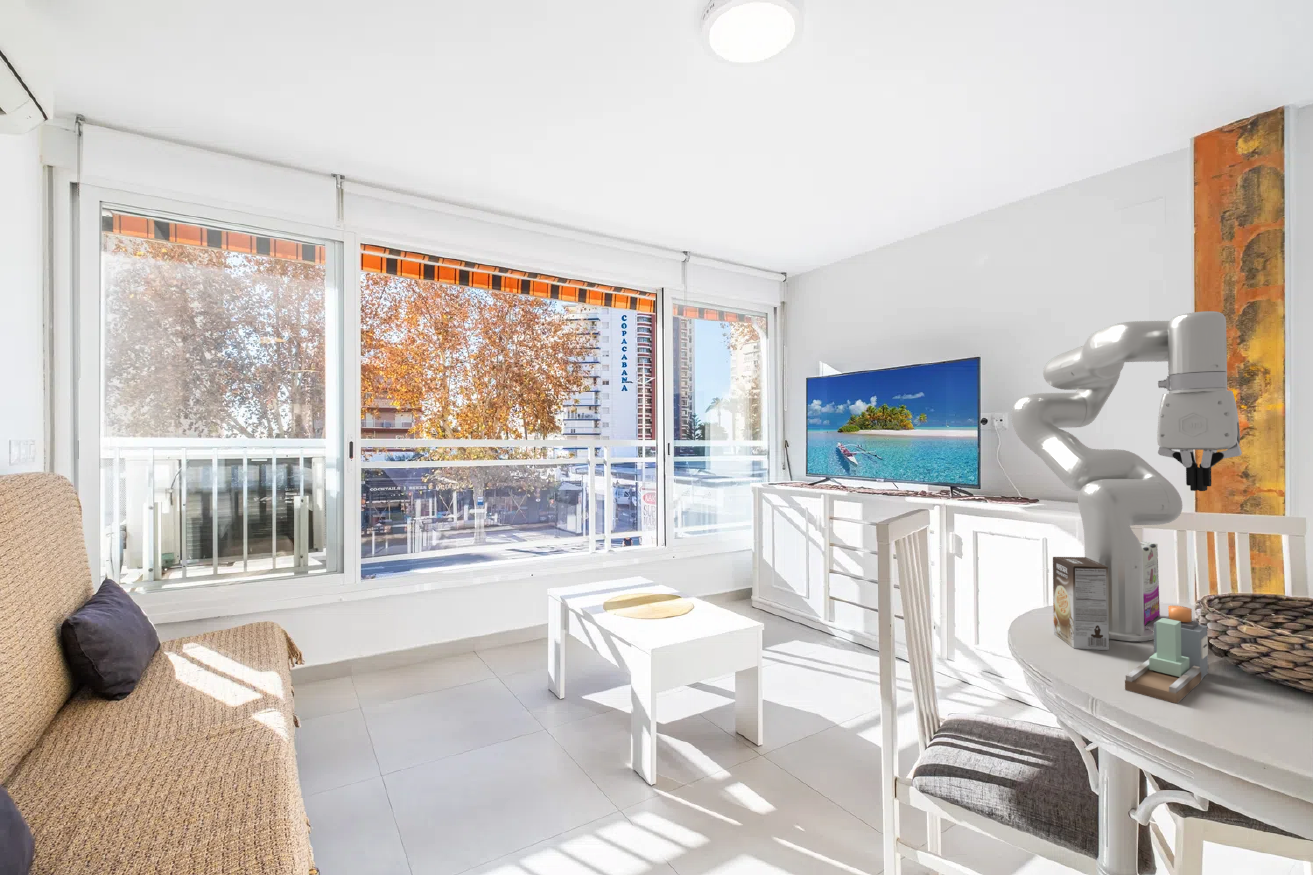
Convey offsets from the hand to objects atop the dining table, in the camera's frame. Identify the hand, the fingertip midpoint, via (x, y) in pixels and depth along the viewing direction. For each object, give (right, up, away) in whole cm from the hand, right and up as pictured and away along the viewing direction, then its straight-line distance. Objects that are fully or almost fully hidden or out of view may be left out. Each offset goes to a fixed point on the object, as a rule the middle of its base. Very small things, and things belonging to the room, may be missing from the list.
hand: (1198, 490), depth 102 cm
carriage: (-9, -29, -4) cm, 31 cm away
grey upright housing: (-4, -31, -1) cm, 31 cm away
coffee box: (-10, -32, +15) cm, 36 cm away
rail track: (-11, -31, -6) cm, 34 cm away
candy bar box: (+13, -31, +29) cm, 44 cm away
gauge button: (-4, -22, 0) cm, 23 cm away
